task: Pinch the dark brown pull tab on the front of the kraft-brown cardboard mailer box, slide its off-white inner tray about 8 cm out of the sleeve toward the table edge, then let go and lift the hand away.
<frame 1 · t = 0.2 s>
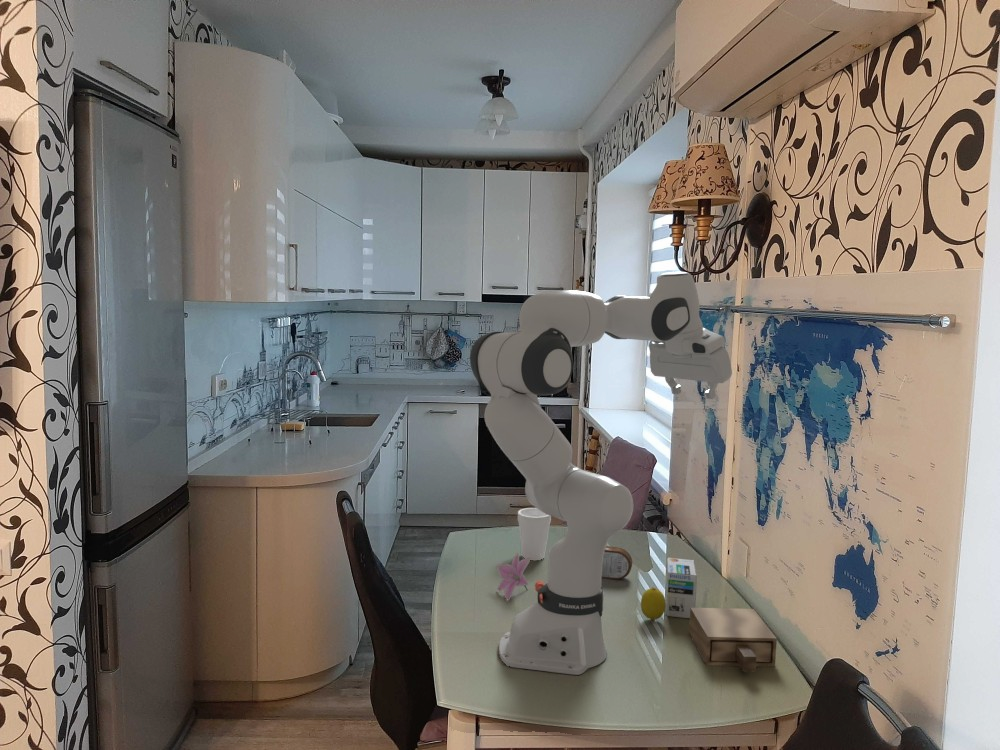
hand: (693, 395, 171), 52 cm above the table, tool tilted 20°, fingers open, 8 cm apart
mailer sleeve: (730, 649, 156), on the table
tin: (602, 578, 195), on the table
lily: (513, 594, 183), on the table
foam cup: (533, 557, 209), on the table
lemon: (652, 621, 169), on the table
tray: (735, 642, 153), point 3 cm above the table, slide at 0.0 cm
light bulb box: (679, 609, 176), on the table
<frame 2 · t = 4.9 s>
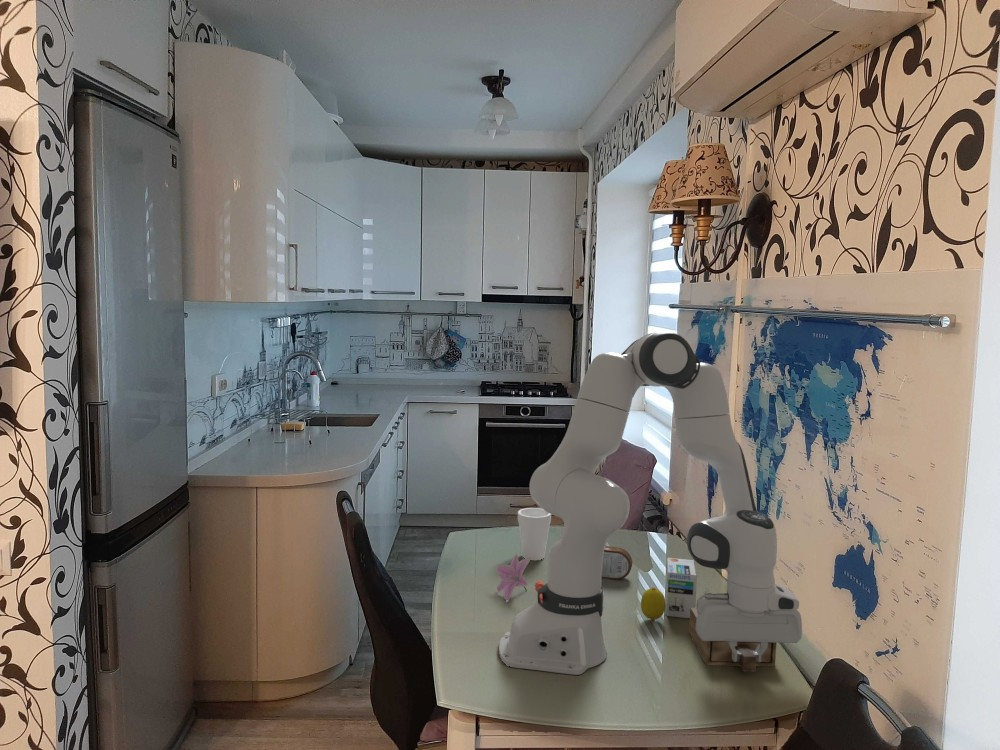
hand: (746, 660, 146), 3 cm above the table, tool pointing down, fingers closed on tray, 2 cm apart
tray: (735, 642, 153), point 3 cm above the table, slide at 0.0 cm, touching gripper
everything else where it was.
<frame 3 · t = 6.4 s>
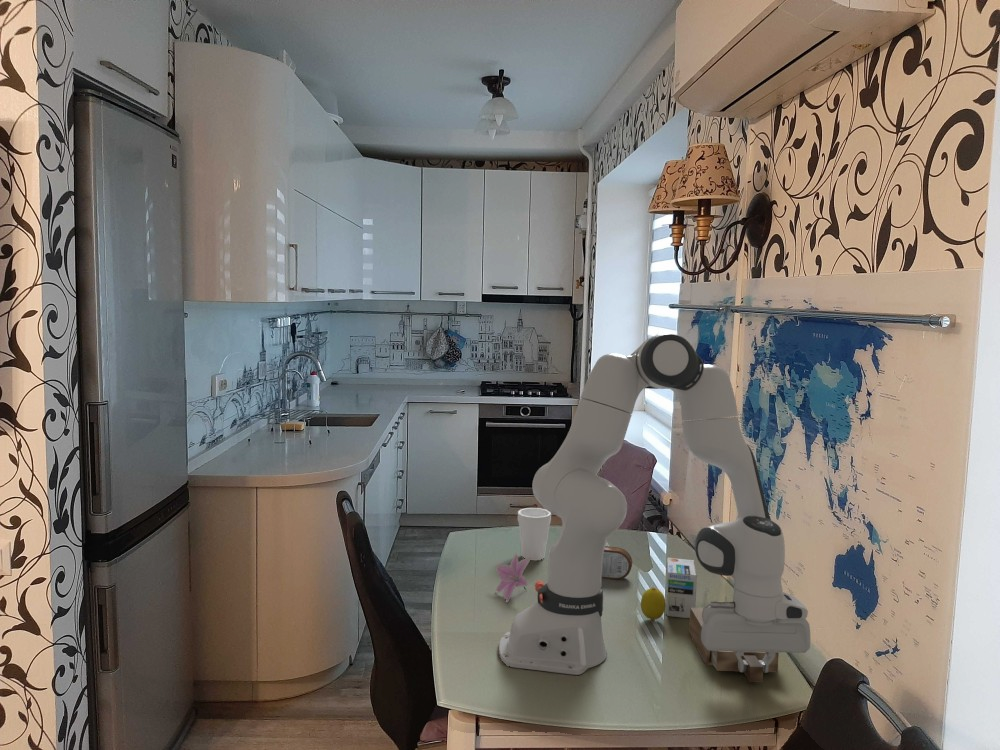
hand: (752, 671, 142), 3 cm above the table, tool pointing down, fingers closed on tray, 2 cm apart
tray: (741, 652, 149), point 3 cm above the table, slide at 4.0 cm, touching gripper
everything else where it was.
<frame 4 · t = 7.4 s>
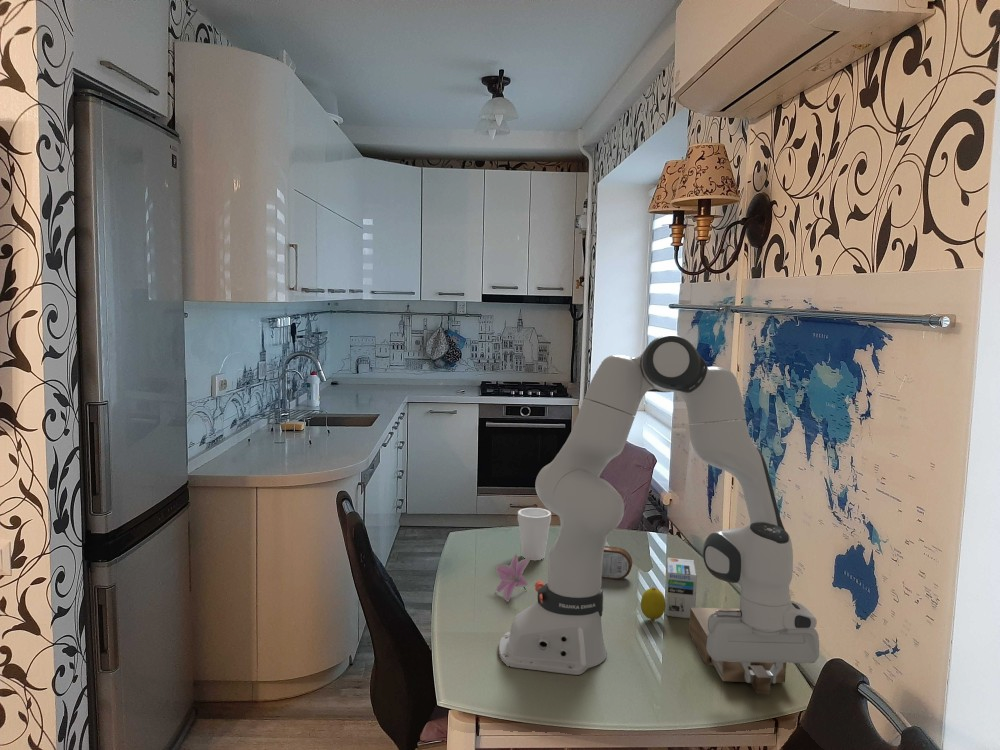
hand: (759, 681, 138), 3 cm above the table, tool pointing down, fingers closed on tray, 2 cm apart
tray: (747, 661, 145), point 3 cm above the table, slide at 7.9 cm, touching gripper
everything else where it was.
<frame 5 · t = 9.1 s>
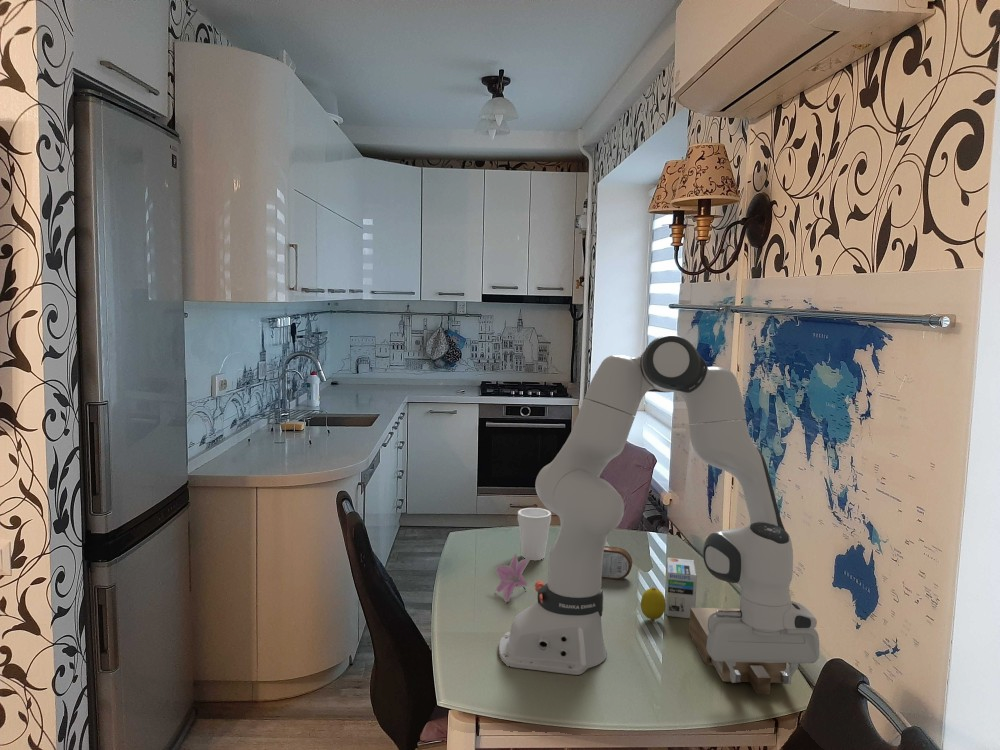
hand: (760, 681, 138), 3 cm above the table, tool pointing down, fingers open, 8 cm apart
tray: (747, 661, 145), point 3 cm above the table, slide at 8.0 cm
everything else where it was.
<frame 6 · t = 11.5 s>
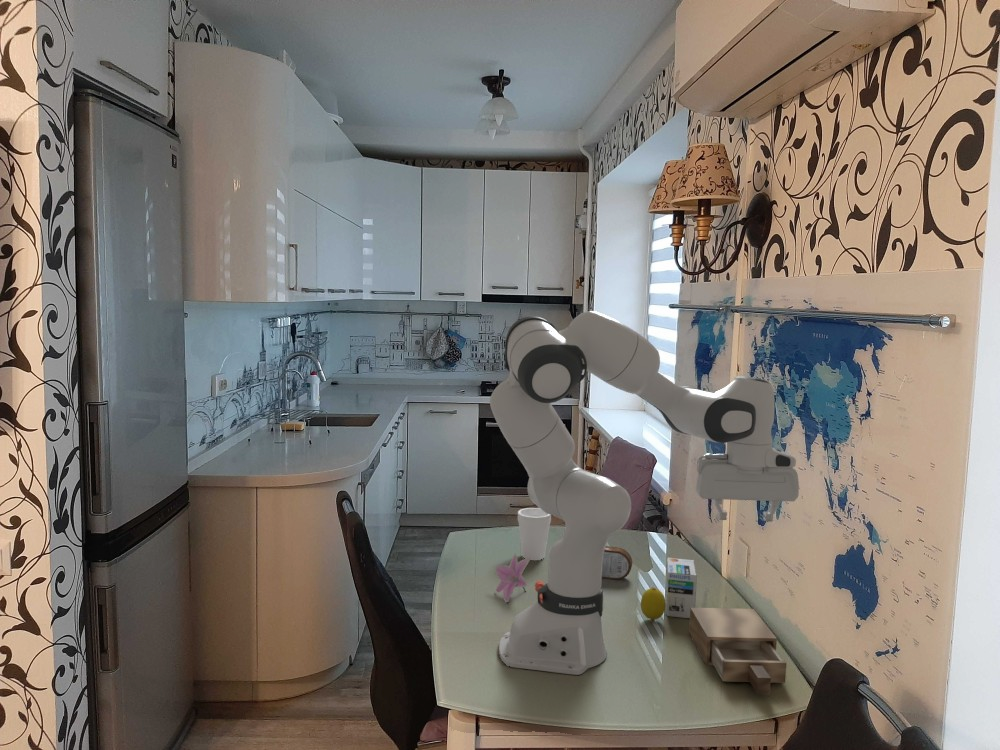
hand: (744, 520, 152), 29 cm above the table, tool pointing down, fingers open, 8 cm apart
nothing on the table moved.
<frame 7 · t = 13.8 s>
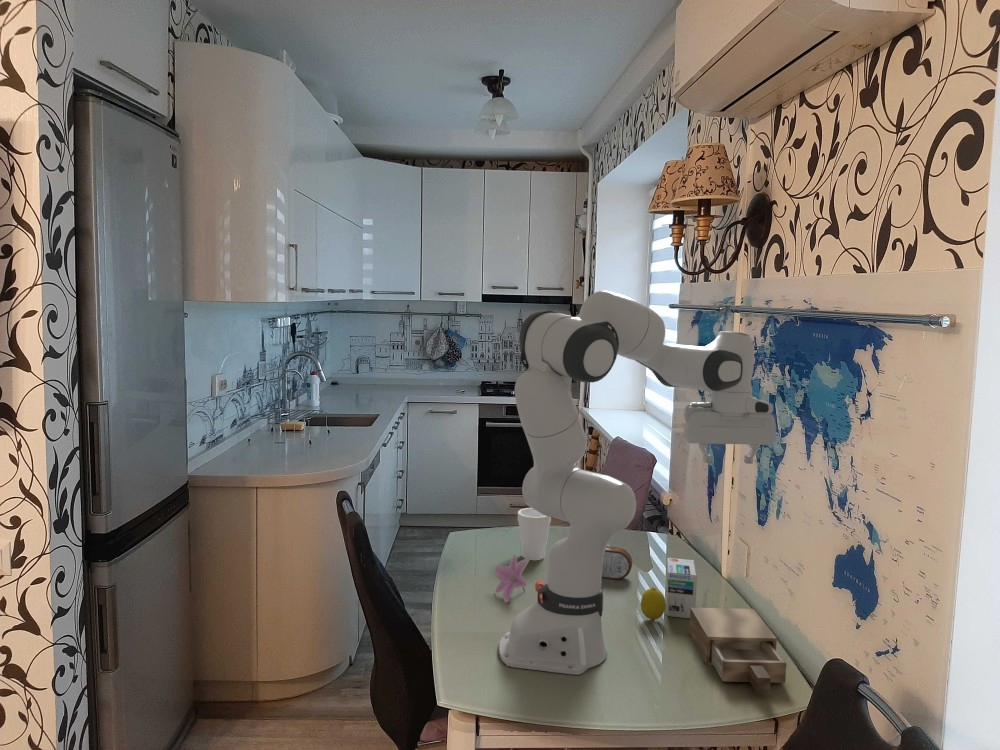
hand: (727, 462, 167), 37 cm above the table, tool pointing down, fingers open, 8 cm apart
at the end: tray slide at 8.0 cm; the gripper is holding nothing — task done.
